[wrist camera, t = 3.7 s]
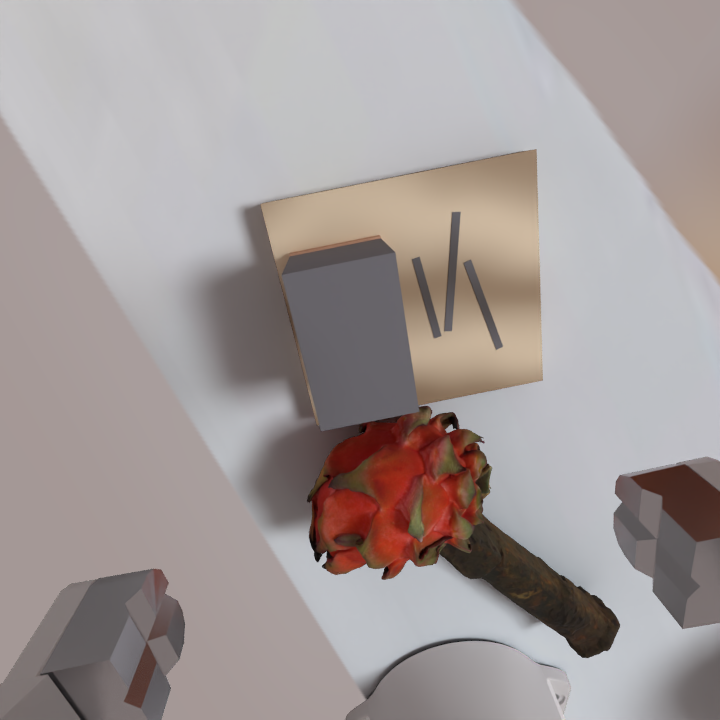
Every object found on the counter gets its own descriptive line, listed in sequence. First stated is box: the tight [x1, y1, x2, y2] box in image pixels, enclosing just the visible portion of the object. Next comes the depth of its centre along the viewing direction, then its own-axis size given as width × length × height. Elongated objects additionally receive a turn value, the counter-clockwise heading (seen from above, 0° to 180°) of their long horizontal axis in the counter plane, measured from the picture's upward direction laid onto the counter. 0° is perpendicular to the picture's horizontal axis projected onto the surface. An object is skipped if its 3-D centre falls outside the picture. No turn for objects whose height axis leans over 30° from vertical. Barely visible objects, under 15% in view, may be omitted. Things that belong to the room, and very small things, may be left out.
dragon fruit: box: [307, 406, 492, 580], centre depth 24 cm, size 8×8×12 cm
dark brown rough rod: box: [439, 514, 620, 658], centre depth 29 cm, size 19×4×5 cm, turn 45°
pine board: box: [261, 149, 543, 425], centre depth 23 cm, size 12×13×2 cm
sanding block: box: [282, 235, 419, 431], centre depth 20 cm, size 7×4×5 cm, turn 10°
